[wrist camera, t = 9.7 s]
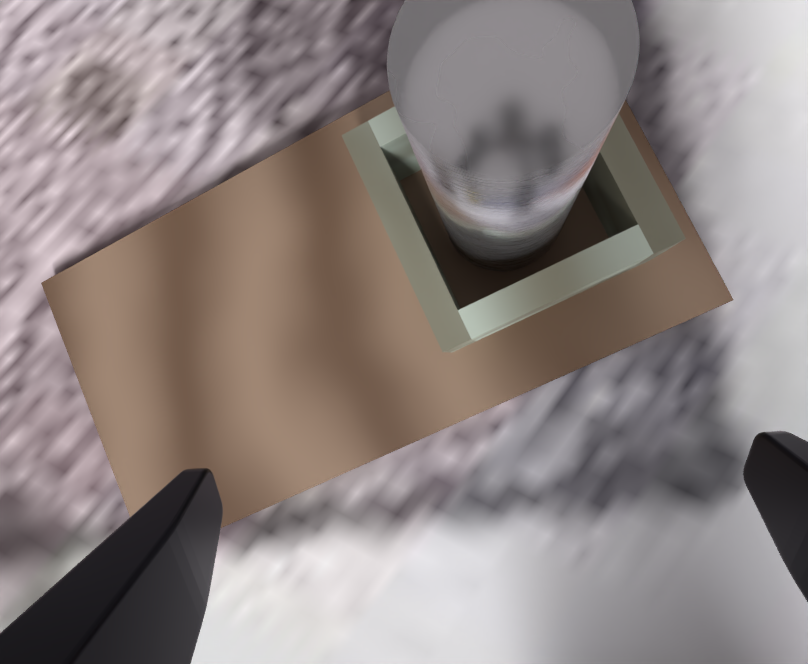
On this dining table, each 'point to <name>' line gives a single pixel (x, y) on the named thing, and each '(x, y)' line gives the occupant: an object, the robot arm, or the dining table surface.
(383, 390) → the walnut dock plate
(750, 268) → the dining table surface
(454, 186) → the metal peg
